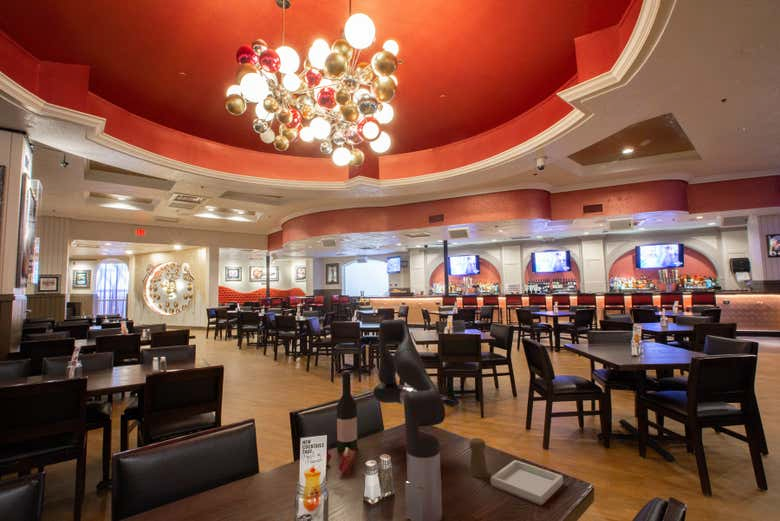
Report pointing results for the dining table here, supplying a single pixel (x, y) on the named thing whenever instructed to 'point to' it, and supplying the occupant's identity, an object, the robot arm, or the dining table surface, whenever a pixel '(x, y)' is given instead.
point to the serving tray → (527, 482)
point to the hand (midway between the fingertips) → (447, 406)
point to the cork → (477, 458)
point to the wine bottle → (346, 417)
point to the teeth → (344, 461)
